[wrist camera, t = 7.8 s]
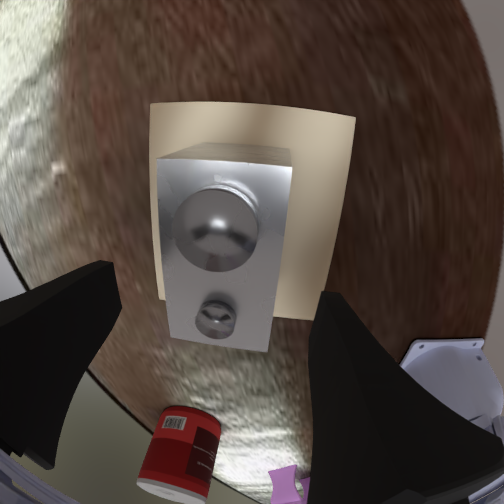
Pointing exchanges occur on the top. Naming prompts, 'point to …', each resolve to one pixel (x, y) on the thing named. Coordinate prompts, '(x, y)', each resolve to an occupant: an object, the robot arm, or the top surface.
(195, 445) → the canned food
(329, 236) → the stand
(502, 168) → the top surface
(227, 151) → the housing
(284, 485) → the toy chair
